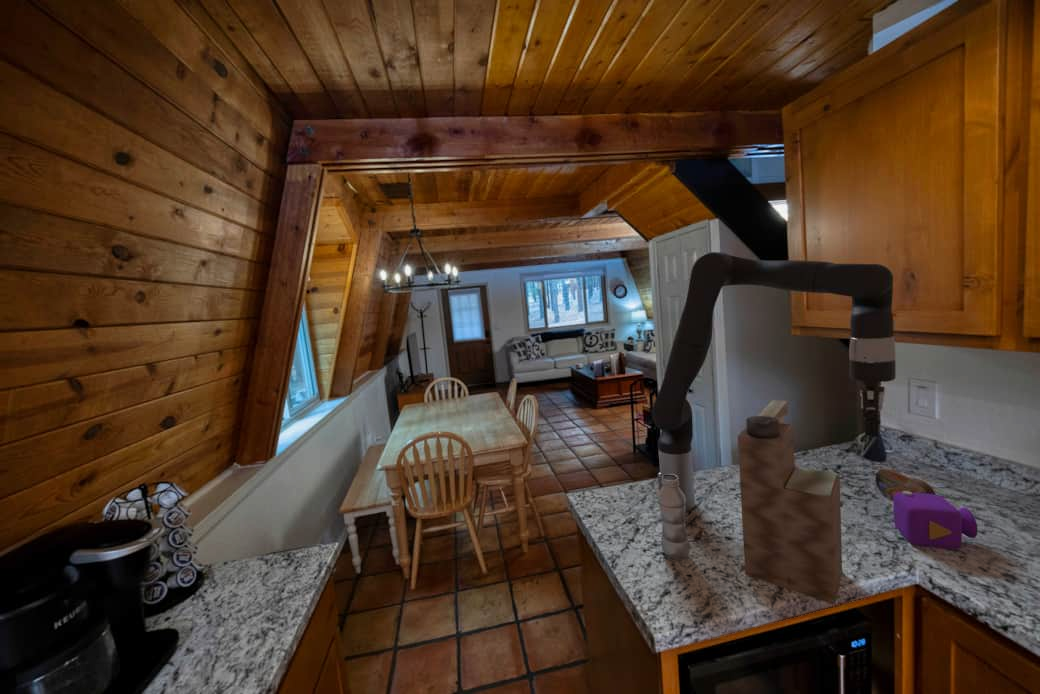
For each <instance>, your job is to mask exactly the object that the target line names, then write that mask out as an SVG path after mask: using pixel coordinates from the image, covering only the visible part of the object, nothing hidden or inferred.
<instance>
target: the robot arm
mask: <svg viewBox="0 0 1040 694" xmlns="http://www.w3.org/2000/svg"><path fill="white" fill-rule="evenodd" d="M741 285H742V286H743V285H744V286H746V285H747V286H749V285H751V286H761V287H766V288H771V289H778V290H785V291H792V292H801V293H814V294H830V295H831V294H833V295H837V296H843V297H844V296H845V297H851V307H852V311H851V314H850V321H849V324H850V329H849V330H850V334H849V335H850V340H849V347H848V352H849V377H850V379H852V380H855V381H859V382H860V381H862V382H864V385H860V388H859V395H860V396H859V397H860V398H861V399H860V406H861V409H862V416H861V417H862V418H863V419H864V435H865V436H866V437H871V438H872V437H873V438H877V437H879V436H880V429H879V427H880V425H881V411H882V410H883V403H884V398H885V386H882V382H884V383H887V382H892V381H894V380H895V379H896V375H897V374H896V371H897V370H896V367H897V366H896V343H895V338H894V335H895V333H894V317H893V316H894V315H893V312H892V311H893V310H892V307H893V296H894V295H893V293H894V291H893V290H894V289H893V288H894V276H893V273H892V271H891V270H890V269H889V268H888V267H887V266H885V265H883V264H879V263H834V262H828V261H820V260H819V261H817V260H816V261H815V260H814V261H813V260H793V259H792V260H789V259H788V260H765V259H764V260H761V259H760V260H759V259H751V258H746V257H745V258H743V257H740V256H737V255H736V256H735V255H732V254H731V255H730V254H727V253H726V252H721V251H719V252H716V251H711V252H710V251H709V252H705V253H703V254H701V255H700V256H699V257H698V258H697V259H696V260H695V262H694V263H693V265H692V268H691V272H690V278H689V285H688V288H687V289H688V290H687V296H686V300H685V304H684V307H683V310H682V313H681V317H680V319H679V323H678V326H677V330H676V331H675V336H674V337H673V341H672V346H671V348H670V349H671V350H670V353H669V358H668V360H667V365H666V369H665V372H664V377H663V381H662V384H661V387H660V388H659V391H658V394H657V396H656V398H655V401H654V403H653V406H652V408H651V419H652V422H653V423H654V425H655V426H656V428H657V429H659V430H661V431H660V432H661V433H660V435H659V436H658V437H659V438H658V440H657V447H658V459H659V472H658V473H657V484H658V492H659V491H660V490H661V488H662V487H663V484H662V481H663V480H662V476H663V475H665V474H673V475H676V476H678V480H679V486H678V487H679V488H680V489H681V491H682V492H683V493H684V495H685V498H686V507H685V511H689V510H692V509H693V508H695V506H696V503H695V502H696V501H695V500H696V499H695V488H694V487H695V485H694V472H693V471H694V470H693V457H692V453H693V452H692V442H693V437H694V436H693V435H694V430H693V429H694V427H693V424H694V423H693V411H692V406H691V403H690V402H689V401H688V400H687V396H688V393H689V390H690V388H691V386H692V384H694V381H695V379H696V378H697V376H698V375H699V372H700V371H701V369H702V368H703V366H704V363H705V362H706V358H707V354H708V352H709V350H710V346H711V344H712V343H711V341H712V338H713V320H714V317H713V315H714V309H715V307H716V303H717V302H718V301H717V300H718V298H719V295H720V292H721V290H722V288H723V287H728V286H741Z"/></svg>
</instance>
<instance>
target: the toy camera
mask: <svg viewBox="0 0 1040 694" xmlns="http://www.w3.org/2000/svg"><path fill="white" fill-rule="evenodd" d="M893 522H894V525H895V527H896V528H897V529H898V531H900V533H901V534H902V535H903V537H904V538H905V539H906V540H907V541H908V542H909V543H911V544H912V545H915V546H923V547H931V548H941V549H942V548H943V549H951V550H952V549H953V550H956V549H960V548H961V547H962V542H963V538H962V537H963V535H965V536H966V537H968V538H971V539H974V538H976V537H977V536H978V533H979V531H978V524H977V523H978V522H977V521H976V518H975V515H974V514H973V513H972V511H971V510H970V509H969V508H967V507H962V508H960V509H957V508H956V507H955V506H954V505H953V504H952V503H950V502H949V501H948V500H947V499H945V498H944V497H942V496H941V495H938V494H936V495H934V494H922V493H912V492H909V491H903V492H898V493H895V494H894V501H893Z"/></svg>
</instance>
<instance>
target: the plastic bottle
mask: <svg viewBox="0 0 1040 694" xmlns="http://www.w3.org/2000/svg"><path fill="white" fill-rule="evenodd" d="M662 480H663V481H662V484H663V487H662V488H661V490H660V491H659V490H658V493H657V502H658V506H659V510H660V517H661V521H662V522H661V523H662V525H661V531H662V532H661V533H662V534H661V538H660V540H661V542H660V545H661V549H662V552H663V553H664V554H665V555H666V556H667V557H669V558H670V559H673V560H676V561H677V560H679V561H680V560H684V559H685V560H686V558H687V557H688V556H689V555H690V548H691V546H690V542H689V538H688V534H687V533H688V532H687V527H686V510H685V507H686V498H685V495H684V493H683V492H682V491H681V489H680V488H679V487H678V486H679V480H678V476H676V475H673V474H665V475H663V476H662Z"/></svg>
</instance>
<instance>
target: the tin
mask: <svg viewBox="0 0 1040 694" xmlns="http://www.w3.org/2000/svg"><path fill="white" fill-rule="evenodd" d="M875 485H876V487H877V489H878V490H879V493H880V494H882V496H884V498H886V499H887V500H889V501H891V502H894V494H895V493H898V492H903V491H909V492H912V493H922V494H934V495H937V494H936V492H935V490H934V489H933V487H932V486H931V485H930V484H928V482H926V481H925V480H922V479H919V478H917V477H915V476H912V475H910V474H907V473H905V472H902V471H900V470H898V469H895V468H882V469H879V470H878V471H877V473H876V475H875Z"/></svg>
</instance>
